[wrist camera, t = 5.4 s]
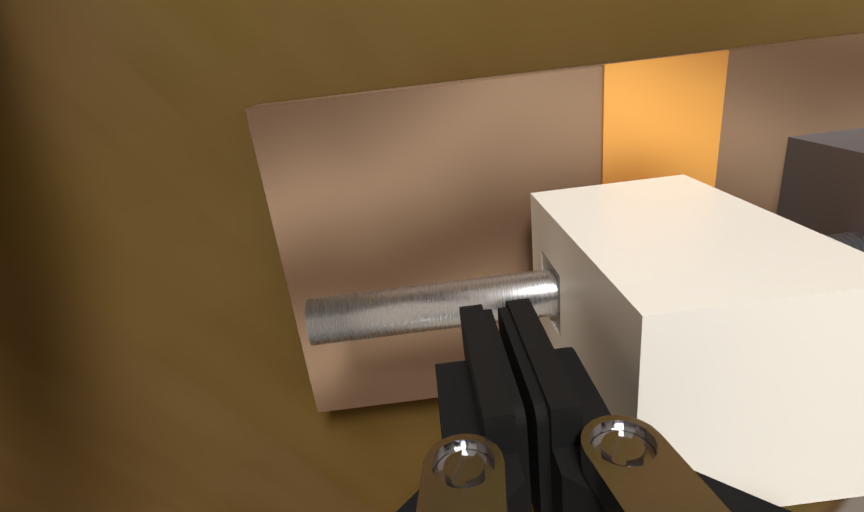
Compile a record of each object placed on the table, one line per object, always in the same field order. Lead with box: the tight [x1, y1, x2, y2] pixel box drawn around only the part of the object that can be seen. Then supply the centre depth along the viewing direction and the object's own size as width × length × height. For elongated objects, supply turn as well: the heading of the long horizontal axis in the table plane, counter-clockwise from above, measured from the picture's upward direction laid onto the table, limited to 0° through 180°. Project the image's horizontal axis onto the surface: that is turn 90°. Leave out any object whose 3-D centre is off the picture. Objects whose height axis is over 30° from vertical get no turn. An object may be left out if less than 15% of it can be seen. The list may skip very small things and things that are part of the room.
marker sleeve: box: [530, 174, 864, 507], centre depth 13 cm, size 5×5×8 cm
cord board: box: [245, 32, 864, 412], centre depth 19 cm, size 12×24×2 cm, turn 96°
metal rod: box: [305, 232, 864, 346], centre depth 15 cm, size 1×16×1 cm, turn 96°
